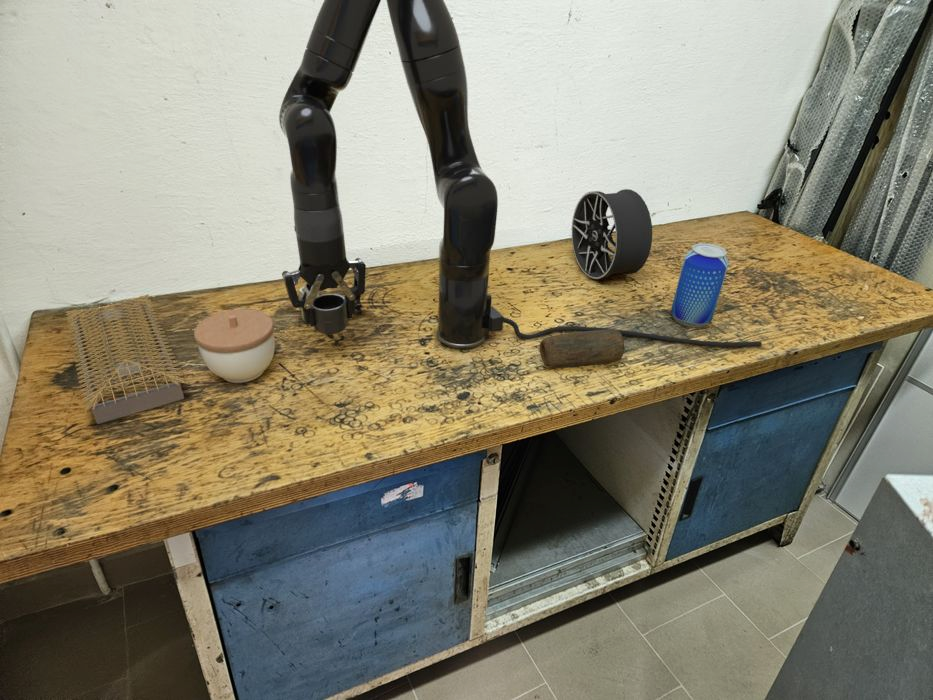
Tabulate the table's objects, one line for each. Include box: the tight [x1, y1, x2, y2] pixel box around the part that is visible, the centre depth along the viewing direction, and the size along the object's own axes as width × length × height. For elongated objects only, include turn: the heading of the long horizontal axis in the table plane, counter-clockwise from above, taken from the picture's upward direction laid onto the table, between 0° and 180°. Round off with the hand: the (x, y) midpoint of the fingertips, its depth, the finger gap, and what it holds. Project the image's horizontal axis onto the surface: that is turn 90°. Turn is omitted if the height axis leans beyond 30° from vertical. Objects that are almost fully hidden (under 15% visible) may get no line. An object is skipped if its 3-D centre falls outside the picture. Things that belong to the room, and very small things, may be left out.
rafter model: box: [65, 294, 188, 425], centre depth 103 cm, size 35×14×6 cm, turn 33°
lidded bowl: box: [193, 308, 276, 384], centre depth 101 cm, size 13×13×11 cm
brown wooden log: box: [539, 328, 625, 369], centre depth 108 cm, size 15×7×7 cm, turn 105°
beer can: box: [670, 242, 730, 329], centre depth 121 cm, size 8×8×16 cm
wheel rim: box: [571, 188, 653, 280], centre depth 138 cm, size 20×9×20 cm, turn 20°
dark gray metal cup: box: [311, 293, 350, 335], centre depth 103 cm, size 6×6×5 cm
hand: (330, 320), depth 104 cm, fingers closed on dark gray metal cup, 6 cm apart
